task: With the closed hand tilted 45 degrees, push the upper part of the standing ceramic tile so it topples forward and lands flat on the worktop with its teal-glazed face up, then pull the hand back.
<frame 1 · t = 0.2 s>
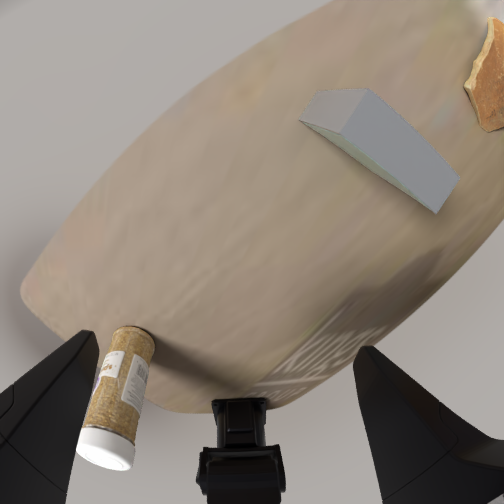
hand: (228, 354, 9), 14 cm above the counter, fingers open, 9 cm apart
sprinkles bottle: (135, 339, 28), on the counter
pottery shard: (486, 72, 17), on the counter
tile: (347, 132, 20), on the counter
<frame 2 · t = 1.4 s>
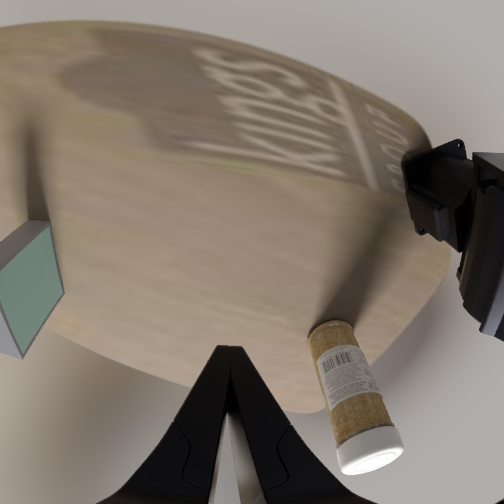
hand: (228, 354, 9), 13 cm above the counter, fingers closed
sprinkles bottle: (329, 334, 27), on the counter
tile: (45, 258, 21), on the counter
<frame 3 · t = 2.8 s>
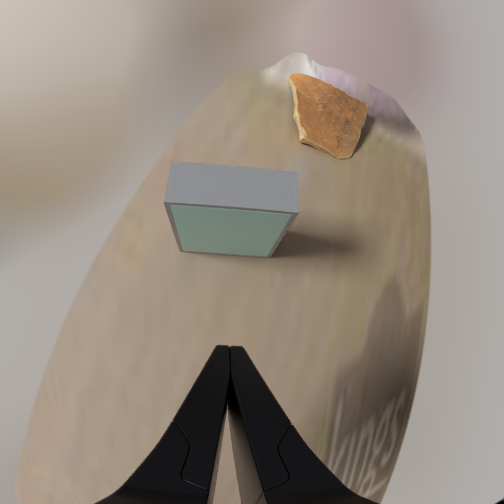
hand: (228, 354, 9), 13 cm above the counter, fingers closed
pottery shard: (315, 118, 30), on the counter
tile: (225, 239, 24), on the counter
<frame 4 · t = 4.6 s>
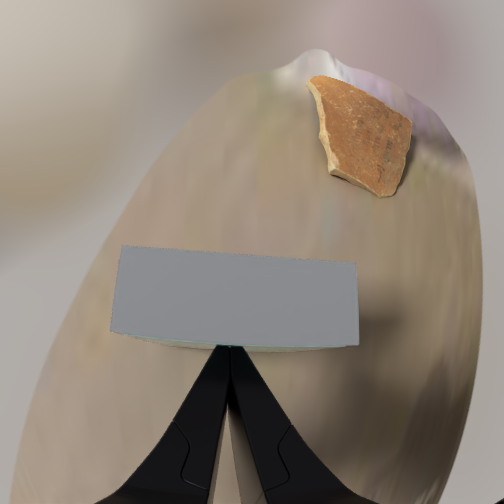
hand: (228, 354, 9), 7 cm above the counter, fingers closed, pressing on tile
pottery shard: (345, 137, 22), on the counter
tile: (226, 327, 16), on the counter, touching gripper
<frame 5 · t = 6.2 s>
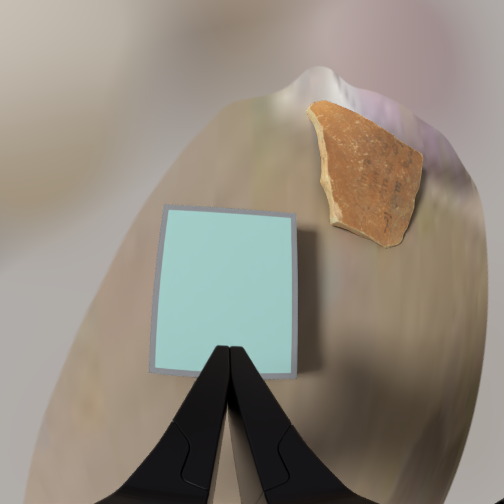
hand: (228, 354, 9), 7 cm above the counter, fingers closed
pottery shard: (349, 176, 21), on the counter
tile: (222, 375, 14), point 1 cm above the counter, tilted 90°
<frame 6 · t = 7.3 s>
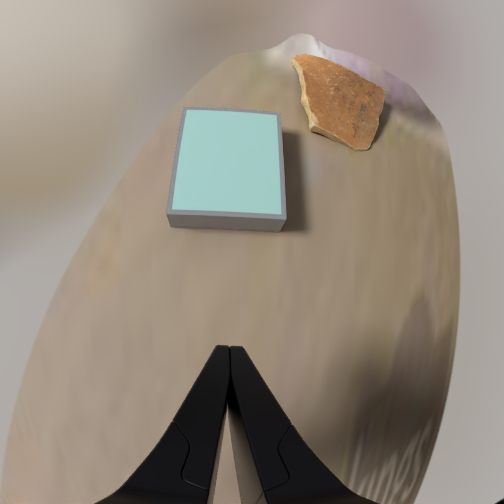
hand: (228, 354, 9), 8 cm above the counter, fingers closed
pottery shard: (325, 104, 25), on the counter
tile: (225, 224, 19), point 1 cm above the counter, tilted 90°
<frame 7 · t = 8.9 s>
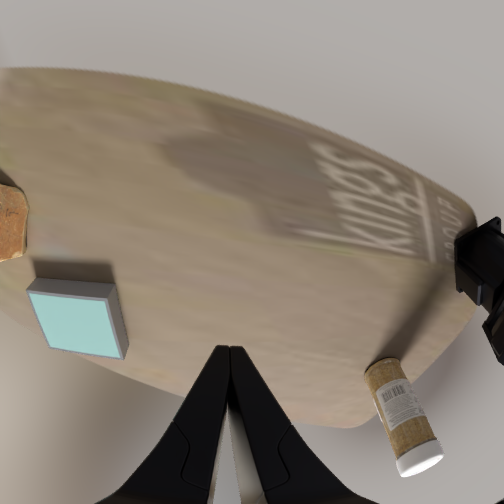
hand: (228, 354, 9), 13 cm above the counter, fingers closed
sprinkles bottle: (381, 368, 30), on the counter
tile: (119, 322, 24), point 1 cm above the counter, tilted 90°
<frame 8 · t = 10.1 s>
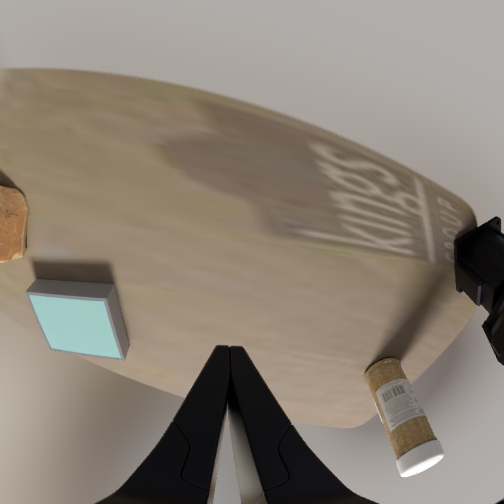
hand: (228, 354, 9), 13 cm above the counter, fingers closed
sprinkles bottle: (381, 368, 30), on the counter
tile: (119, 322, 24), point 1 cm above the counter, tilted 90°
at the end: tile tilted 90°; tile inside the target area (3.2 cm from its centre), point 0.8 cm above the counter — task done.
